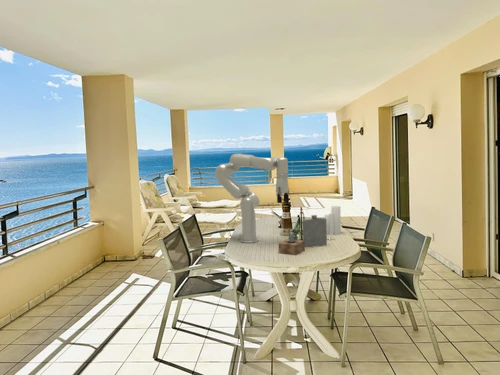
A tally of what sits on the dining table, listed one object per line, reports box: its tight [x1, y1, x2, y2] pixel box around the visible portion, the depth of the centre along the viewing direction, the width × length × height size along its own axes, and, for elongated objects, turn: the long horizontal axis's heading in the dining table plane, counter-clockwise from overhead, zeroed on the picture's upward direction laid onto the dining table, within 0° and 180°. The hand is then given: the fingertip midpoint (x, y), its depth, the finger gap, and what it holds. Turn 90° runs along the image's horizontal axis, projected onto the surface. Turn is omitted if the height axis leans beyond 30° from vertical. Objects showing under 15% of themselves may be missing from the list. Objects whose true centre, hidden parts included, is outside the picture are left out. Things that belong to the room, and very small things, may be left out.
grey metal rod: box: [288, 231, 295, 243], centre depth 244 cm, size 3×3×12 cm
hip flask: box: [302, 214, 328, 248], centre depth 257 cm, size 16×4×20 cm, turn 100°
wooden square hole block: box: [278, 238, 306, 256], centre depth 244 cm, size 12×12×6 cm
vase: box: [324, 205, 342, 236], centre depth 289 cm, size 11×7×20 cm, turn 90°
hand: (282, 201), depth 263 cm, fingers open, 9 cm apart
